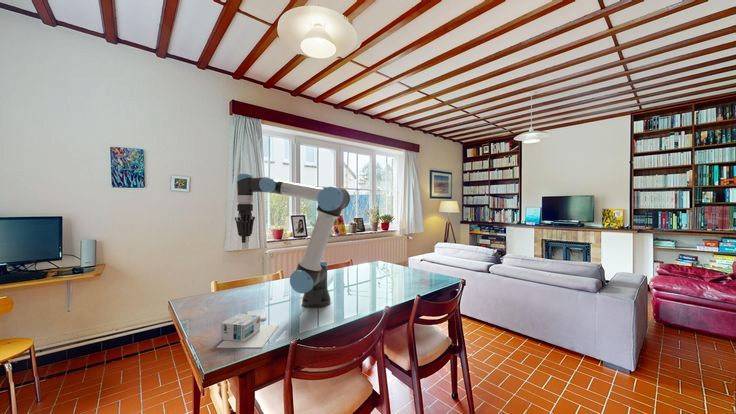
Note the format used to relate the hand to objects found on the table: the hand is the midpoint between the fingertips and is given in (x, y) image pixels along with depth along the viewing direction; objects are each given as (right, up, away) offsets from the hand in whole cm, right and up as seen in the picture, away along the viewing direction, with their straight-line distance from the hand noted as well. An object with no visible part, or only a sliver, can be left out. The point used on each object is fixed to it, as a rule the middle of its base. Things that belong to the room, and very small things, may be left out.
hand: (245, 248), depth 145 cm
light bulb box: (+7, -27, -31) cm, 42 cm away
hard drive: (+11, -31, -13) cm, 35 cm away
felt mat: (+16, -30, -33) cm, 47 cm away
